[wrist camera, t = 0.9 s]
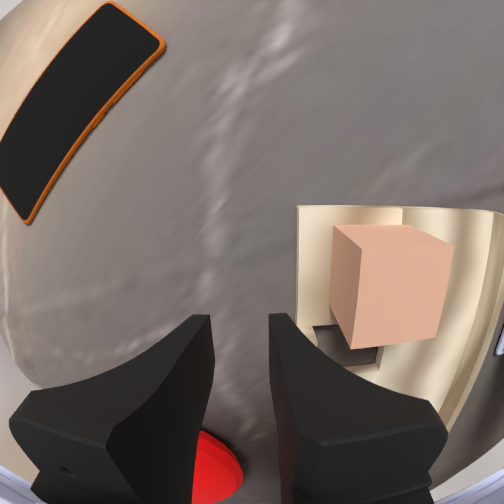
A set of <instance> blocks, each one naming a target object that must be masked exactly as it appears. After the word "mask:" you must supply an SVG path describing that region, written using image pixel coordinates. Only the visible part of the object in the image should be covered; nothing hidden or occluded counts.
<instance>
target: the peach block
mask: <svg viewBox="0 0 504 504" xmlns="http://www.w3.org/2000/svg"><path fill="white" fill-rule="evenodd" d="M453 249H454V246H453V245H451V244H449V243H447V242H444V241H442V240H440V239H438V238H436V237H434V236H432V235H430V234H428V233H426V232H423V231H421V230H419V229H417V228H415V227H413V226H410V225H333V248H332V269H331V286H330V300H329V305H330V307H331V309H332V311H333V313H334V315H335V317H336V320H337V322H338V324H339V326H340V328H341V330H342V332H343V334H344V336H345V339H346V341H347V343H348V345H349V347H350V349H359V348H368V347H376V346H384V345H391V344H398V343H405V342H411V341H417V340H423V339H429V338H434V337H436V333H437V329H438V326H439V322H440V318H441V314H442V309H443V305H444V300H445V296H446V291H447V286H448V280H449V275H450V269H451V263H452V256H453Z"/></svg>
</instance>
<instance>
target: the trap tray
mask: <svg viewBox="0 0 504 504" xmlns="http://www.w3.org/2000/svg"><path fill="white" fill-rule="evenodd" d="M333 225H410V226H413V227H415V228H417V229H419V230H421V231H423V232H426V233H428V234H430V235H432V236H434V237H436V238H438V239H440V240H442V241H444V242H447V243H449V244H451V245H453V246H454V249H453V256H452V263H451V269H450V275H449V280H448V286H447V291H446V296H445V300H444V305H443V309H442V314H441V318H440V322H439V326H438V329H437V333H436V337H434V338H429V339H423V340H417V341H411V342H405V343H398V344H391V345H384V346H378V351H377V356H376V360H375V363H372V364H365V365H357V366H348V367H344V368H345V369H347V370H349V371H350V372H352V373H354V374H356V375H358V376H360V377H362V378H364V379H366V380H368V381H370V382H372V383H374V384H377V385H379V386H382V387H384V388H387V389H390V390H392V391H395V392H398V393H402V394H406V395H409V396H413V397H417V398H421V399H425V400H429V402H430V403H431V404H432V405H433V407H434V408H435V410H436V411H437V413H438V414H439V416H440V418H441V420H442V422H443V423H444V425H445V427H446V429H447V431H448V433H449V431H450V429H451V427H452V426H453V424H454V422H455V420H456V418H457V417H458V415H459V413H460V411H461V409H462V407H463V405H464V403H465V401H466V399H467V397H468V395H469V393H470V391H471V389H472V386H473V384H474V382H475V380H476V378H477V375H478V373H479V371H480V368H481V366H482V363H483V361H484V358H485V356H486V353H487V350H488V348H489V345H490V342H491V339H492V336H493V333H494V330H495V327H496V324H497V321H498V318H499V314H500V311H501V307H502V304H503V300H504V214H502V213H499V212H496V211H488V210H473V209H456V208H436V207H409V206H361V205H307V206H297V259H296V309H295V324H296V326H297V327H298V328H299V329H300V330H301V331H302V332H303V334H304V335H305V336H306V337H307V338H308V339H309V340H310V341H311V342H312V343H313V344H314V345H315V346H316V347H317V346H318V342H317V339H316V336H315V333H314V330H313V327H312V326H321V325H336V324H338V322H337V320H336V317H335V315H334V313H333V311H332V309H331V307H330V305H329V300H330V286H331V269H332V248H333Z"/></svg>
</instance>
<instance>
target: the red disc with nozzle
mask: <svg viewBox="0 0 504 504" xmlns="http://www.w3.org/2000/svg"><path fill="white" fill-rule="evenodd" d="M242 482H243V472H242V470H241V467H240V465H239V462H238V460H237V458H236V456H235V455H234V454H233V453H232V451H231V450H230V449H229V448H228V447H227V446H226V445H225V444H223V443H222V442H220V441H219V440H217V439H216V438H214V437H213V436H211V435H210V434H208V433H206V432H204V431H201V430H200V434H199V439H198V446H197V454H196V462H195V471H194V481H193V493H192V504H210V503H214V502H218V501H221V500H223V499H225V498H227V497H229V496H231V495H232V494H233V493H235V492H236V491H237V490H238V488H239V487H240V486H241V485H242Z"/></svg>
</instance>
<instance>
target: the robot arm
mask: <svg viewBox="0 0 504 504" xmlns="http://www.w3.org/2000/svg"><path fill="white" fill-rule="evenodd" d="M495 353H496V354H497V355H500V354H503V353H504V328H503V331H502V334H501V337H500V340H499V343H498V346H497V348H496V351H495ZM214 367H215V355H214V347H213V339H212V330H211V321H210V315H192V316H190V317H189V318H188V319H187V320H185V321H184V322H183V323H182V324H181V325H179V326H178V327H177V328H176V329H174V330H173V331H172V332H171V333H169V334H168V335H167V336H166V337H164V338H163V339H162V340H160V341H159V342H158V343H156V344H155V345H153V346H152V347H150V348H149V349H148V350H146V351H145V352H143V353H142V354H140V355H138V356H137V357H135V358H133V359H131V360H130V361H128V362H126V363H124V364H122V365H120V366H118V367H116V368H114V369H111V370H109V371H106V372H104V373H102V374H99V375H97V376H94V377H92V378H89V379H85V380H82V381H79V382H75V383H72V384H68V385H64V386H59V387H54V388H48V389H42V390H35V391H31V392H30V393H29V395H28V396H27V397H26V398H25V399H24V401H23V402H22V403H21V405H20V406H19V407H18V408H17V410H16V411H15V412H14V414H13V415H12V416H11V418H10V419H9V428H10V430H11V433H12V435H13V437H14V438H15V440H16V442H17V443H18V445H19V446H20V447H21V448H22V450H23V451H24V452H25V454H26V455H27V456H28V457H29V459H30V460H31V461H32V462H33V463H34V465H35V466H36V467H37V468H38V469H39V470H40V472H39V473H38V475H37V477H36V479H35V481H34V483H32V482H30V481H28V480H26V479H24V478H22V477H20V476H19V475H17V474H15V473H13V472H12V471H10V470H8V469H7V468H5V467H3V466H2V465H0V504H192V493H193V481H194V471H195V462H196V454H197V446H198V439H199V434H200V430H201V426H202V422H203V418H204V414H205V411H206V407H207V403H208V399H209V395H210V391H211V388H212V383H213V376H214ZM269 372H270V386H271V393H272V399H273V405H274V411H275V417H276V423H277V429H278V437H279V452H280V476H281V504H504V467H503V468H502V469H500V470H498V471H497V472H495V473H493V474H491V475H490V476H488V477H486V478H484V479H483V480H481V481H479V482H477V483H475V484H473V485H471V486H469V487H467V488H465V489H463V490H461V491H458V492H456V493H454V494H452V495H450V496H447V497H445V498H443V499H440V500H438V501H435V502H434V501H433V499H432V497H431V494H430V491H429V489H428V487H429V486H430V485H431V484H432V480H431V478H430V475H429V473H428V470H429V469H430V468H431V466H432V465H433V463H434V462H435V461H436V459H437V458H438V456H439V455H440V453H441V452H442V450H443V448H444V446H445V444H446V441H447V438H448V431H447V429H446V427H445V425H444V423H443V422H442V420H441V418H440V416H439V414H438V413H437V411H436V410H435V408H434V407H433V405H432V404H431V403H430V402H429V400H425V399H421V398H417V397H413V396H409V395H406V394H402V393H398V392H395V391H392V390H390V389H387V388H384V387H382V386H379V385H377V384H374V383H372V382H370V381H368V380H366V379H364V378H362V377H360V376H358V375H356V374H354V373H352V372H350V371H349V370H347V369H345V368H344V367H342V366H341V365H339V364H338V363H336V362H335V361H333V360H332V359H331V358H329V357H328V356H327V355H325V354H324V353H323V352H322V351H321V350H320V349H318V348H317V347H316V346H315V345H314V344H313V343H312V342H311V341H310V340H309V339H308V338H307V337H306V336H305V335H304V334H303V332H302V331H301V330H300V329H299V328H298V327H297V326H296V324H295V323H294V322H293V321H292V319H291V318H290V317H289V315H288V314H287V313H276V314H269Z"/></svg>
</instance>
